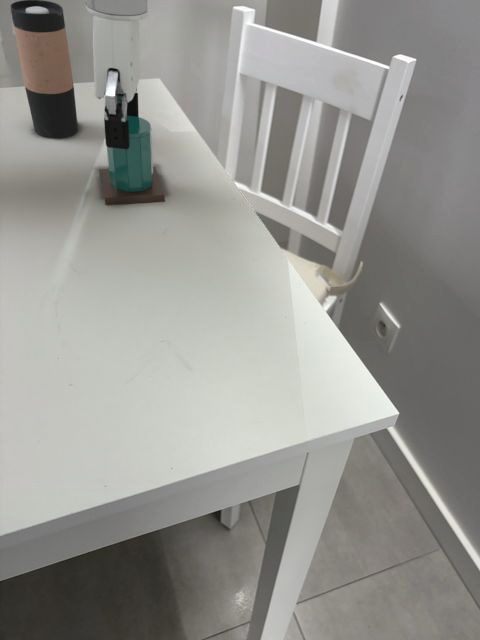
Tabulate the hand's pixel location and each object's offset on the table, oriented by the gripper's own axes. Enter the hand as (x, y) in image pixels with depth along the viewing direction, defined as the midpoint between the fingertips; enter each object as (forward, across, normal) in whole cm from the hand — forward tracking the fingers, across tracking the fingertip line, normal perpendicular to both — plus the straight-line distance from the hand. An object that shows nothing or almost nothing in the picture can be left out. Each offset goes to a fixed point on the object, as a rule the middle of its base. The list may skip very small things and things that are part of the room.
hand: (123, 132), depth 80 cm
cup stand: (+9, 0, +1) cm, 9 cm away
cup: (+8, 0, +1) cm, 8 cm away
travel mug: (+10, -16, -14) cm, 23 cm away
